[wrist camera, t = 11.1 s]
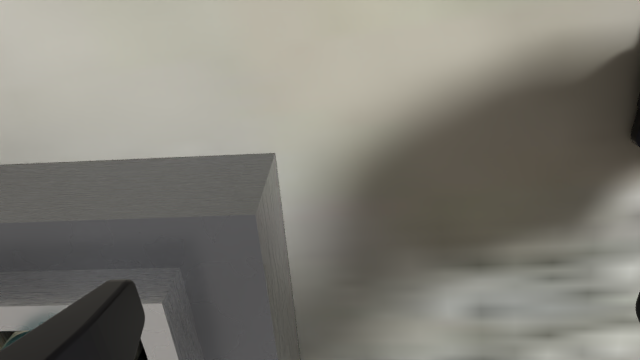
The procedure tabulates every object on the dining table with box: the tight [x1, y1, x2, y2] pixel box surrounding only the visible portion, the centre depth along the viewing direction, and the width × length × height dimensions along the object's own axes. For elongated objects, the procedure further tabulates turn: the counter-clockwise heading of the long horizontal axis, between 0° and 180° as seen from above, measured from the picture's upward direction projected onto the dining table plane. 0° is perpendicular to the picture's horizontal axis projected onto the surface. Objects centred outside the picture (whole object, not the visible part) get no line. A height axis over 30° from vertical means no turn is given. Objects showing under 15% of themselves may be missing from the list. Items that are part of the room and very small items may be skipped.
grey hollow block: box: [0, 153, 300, 360], centre depth 22 cm, size 18×14×7 cm
